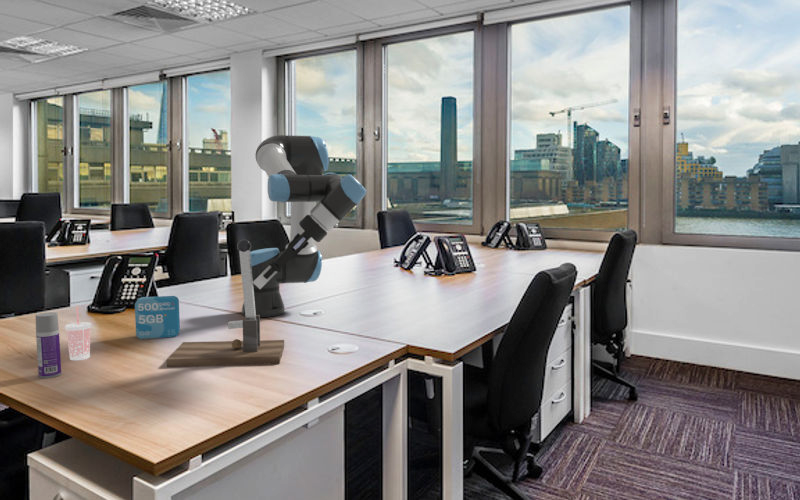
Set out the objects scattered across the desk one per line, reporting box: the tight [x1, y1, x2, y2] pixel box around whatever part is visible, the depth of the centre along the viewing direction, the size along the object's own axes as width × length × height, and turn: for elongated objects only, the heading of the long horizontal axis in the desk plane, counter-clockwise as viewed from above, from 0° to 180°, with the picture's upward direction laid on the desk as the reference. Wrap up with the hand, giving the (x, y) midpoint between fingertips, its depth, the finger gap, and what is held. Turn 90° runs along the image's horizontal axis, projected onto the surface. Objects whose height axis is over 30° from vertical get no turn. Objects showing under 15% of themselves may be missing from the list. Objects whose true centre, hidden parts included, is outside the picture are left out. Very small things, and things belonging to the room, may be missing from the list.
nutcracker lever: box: [227, 239, 258, 330], centre depth 151 cm, size 4×8×24 cm, turn 97°
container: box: [35, 311, 62, 379], centre depth 135 cm, size 5×5×15 cm
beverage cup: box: [64, 305, 92, 361], centre depth 149 cm, size 6×6×14 cm
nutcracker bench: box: [166, 315, 285, 368], centre depth 152 cm, size 16×28×10 cm, turn 97°
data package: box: [134, 295, 181, 340], centre depth 172 cm, size 12×4×12 cm, turn 108°
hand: (256, 285), depth 151 cm, fingers closed
